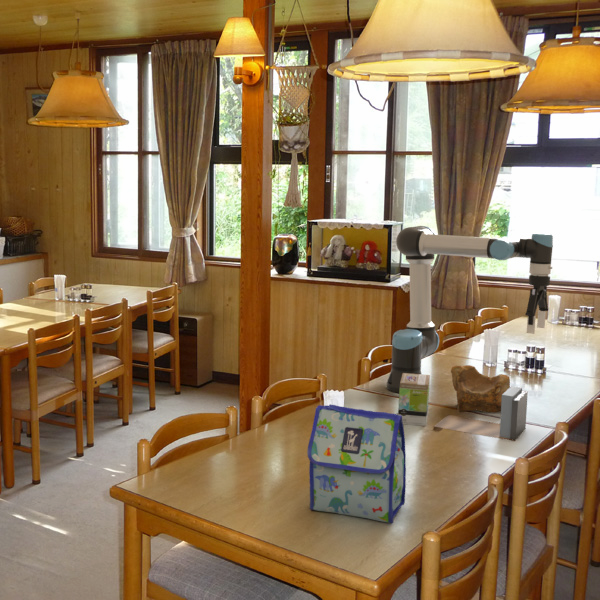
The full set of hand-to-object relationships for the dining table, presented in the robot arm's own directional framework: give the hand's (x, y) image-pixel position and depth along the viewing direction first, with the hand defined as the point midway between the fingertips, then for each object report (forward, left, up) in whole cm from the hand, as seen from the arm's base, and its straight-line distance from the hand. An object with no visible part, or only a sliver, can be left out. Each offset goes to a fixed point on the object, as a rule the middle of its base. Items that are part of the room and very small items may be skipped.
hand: (535, 330), depth 278 cm
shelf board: (-7, -45, -27) cm, 53 cm away
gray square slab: (+6, -45, -26) cm, 53 cm away
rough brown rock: (-15, -24, -28) cm, 40 cm away
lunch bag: (-15, -123, -28) cm, 127 cm away
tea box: (-30, -46, -28) cm, 61 cm away
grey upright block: (+3, -45, -26) cm, 53 cm away
